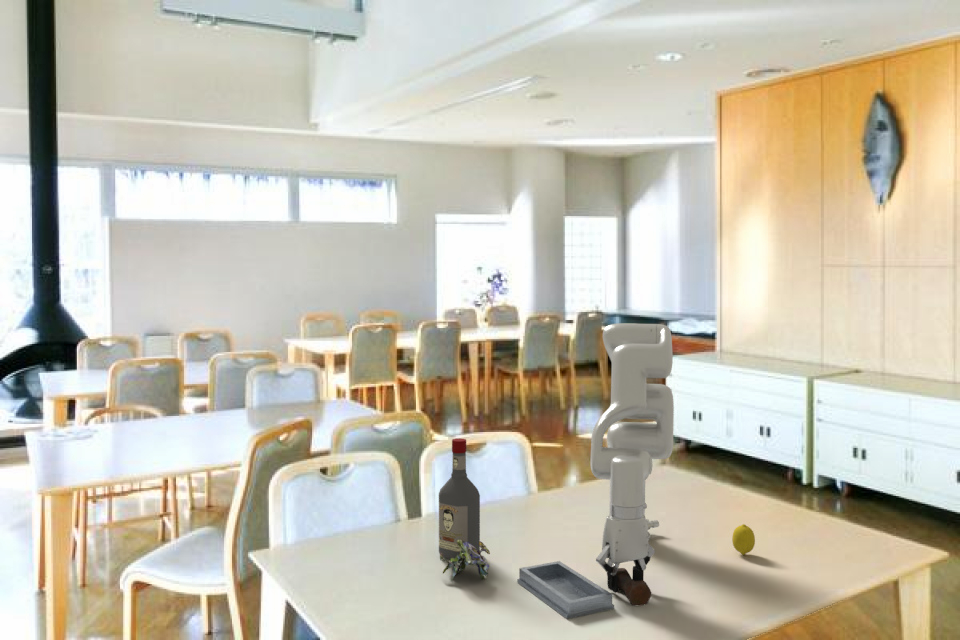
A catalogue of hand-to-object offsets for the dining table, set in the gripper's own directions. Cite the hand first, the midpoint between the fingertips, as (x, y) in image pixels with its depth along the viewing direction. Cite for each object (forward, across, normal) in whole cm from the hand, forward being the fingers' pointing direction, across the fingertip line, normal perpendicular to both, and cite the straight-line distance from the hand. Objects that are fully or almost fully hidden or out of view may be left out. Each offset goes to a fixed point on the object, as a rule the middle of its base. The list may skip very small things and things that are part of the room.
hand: (625, 587), depth 188 cm
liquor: (+1, +25, -37) cm, 45 cm away
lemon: (+1, -41, -6) cm, 41 cm away
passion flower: (+1, +30, -22) cm, 37 cm away
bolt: (+1, 0, 0) cm, 1 cm away
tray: (+1, +14, -4) cm, 15 cm away
